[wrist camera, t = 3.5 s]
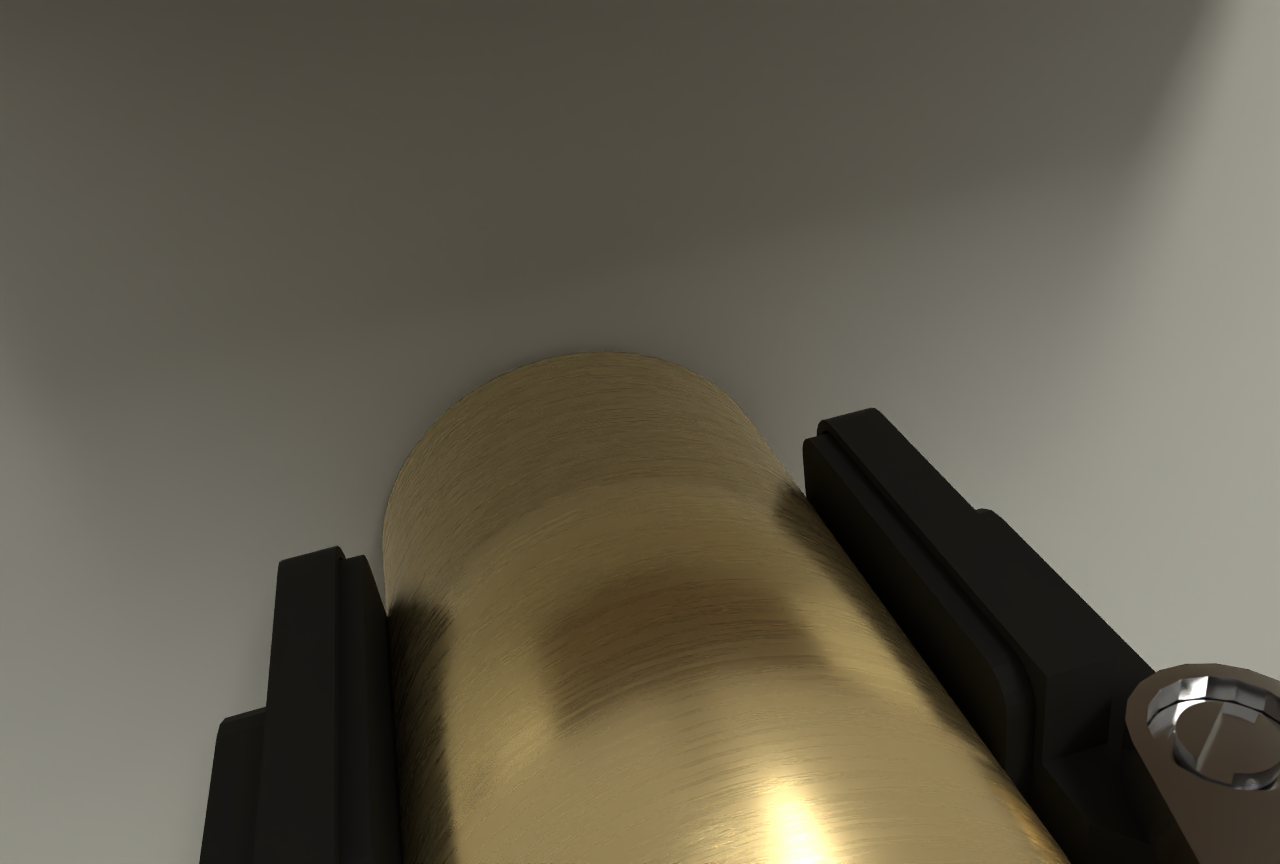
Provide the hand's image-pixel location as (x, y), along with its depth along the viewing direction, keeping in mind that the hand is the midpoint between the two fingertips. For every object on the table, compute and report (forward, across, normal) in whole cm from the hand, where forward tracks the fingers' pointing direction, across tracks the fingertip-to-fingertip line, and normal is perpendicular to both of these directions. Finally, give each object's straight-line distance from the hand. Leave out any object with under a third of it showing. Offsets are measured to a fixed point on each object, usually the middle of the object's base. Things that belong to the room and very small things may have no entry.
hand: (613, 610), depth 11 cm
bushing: (+1, 0, 0) cm, 1 cm away
